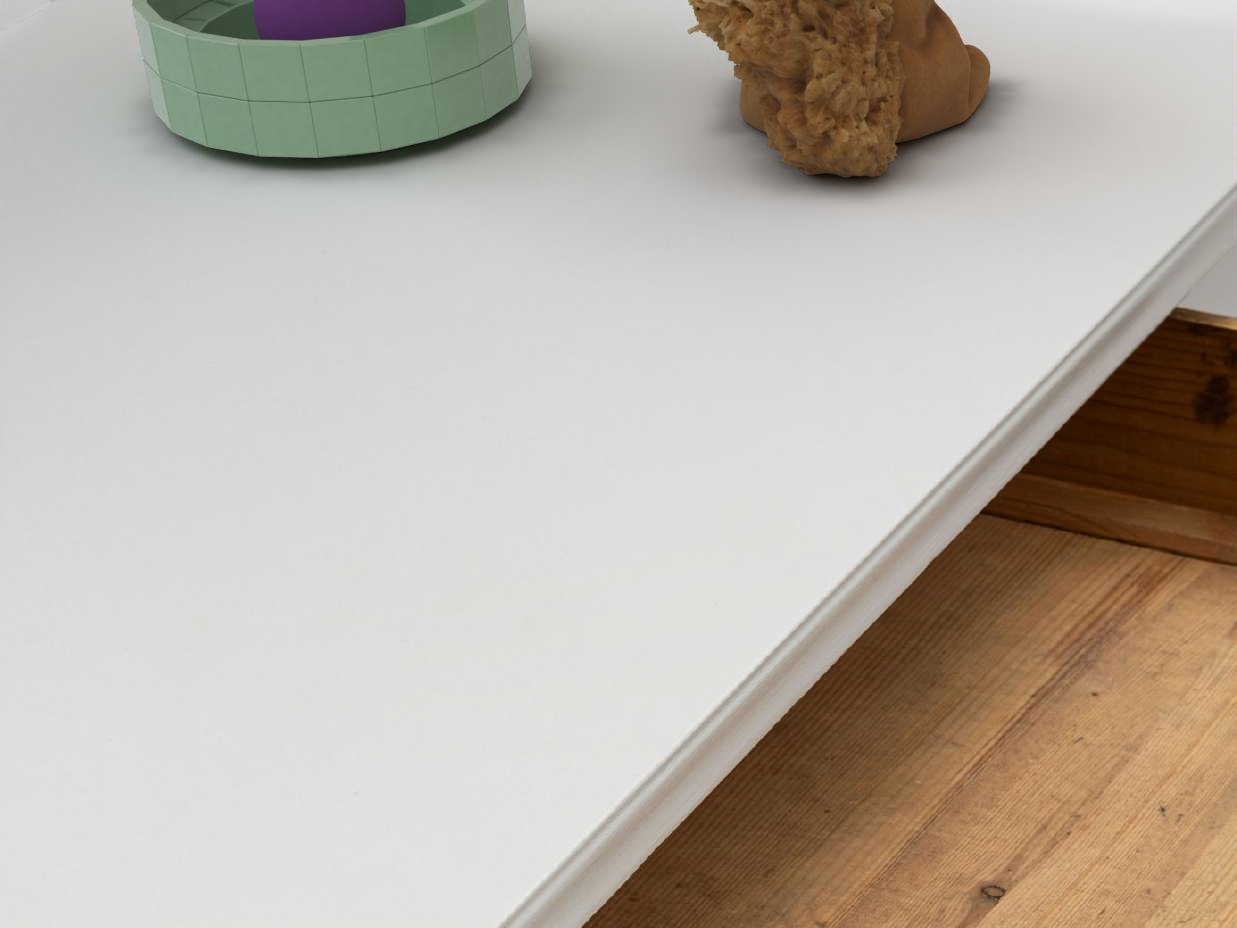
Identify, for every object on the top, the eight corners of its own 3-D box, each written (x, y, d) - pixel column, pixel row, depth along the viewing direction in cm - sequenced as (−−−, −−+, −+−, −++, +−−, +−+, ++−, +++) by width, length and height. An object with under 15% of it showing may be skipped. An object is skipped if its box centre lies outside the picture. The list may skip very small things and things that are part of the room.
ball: (247, 110, 103) (220, -40, 100) (292, 54, 108) (267, -91, 104) (393, 114, 103) (370, -37, 99) (431, 57, 107) (411, -89, 104)
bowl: (103, 167, 101) (74, 41, 98) (226, 28, 113) (205, -88, 109) (482, 177, 99) (465, 48, 96) (567, 35, 111) (555, -84, 108)
